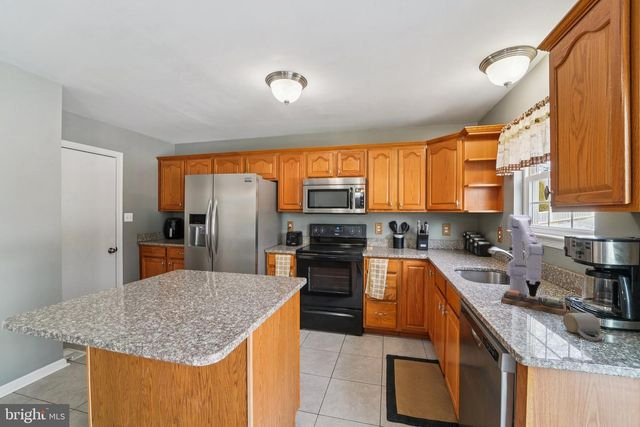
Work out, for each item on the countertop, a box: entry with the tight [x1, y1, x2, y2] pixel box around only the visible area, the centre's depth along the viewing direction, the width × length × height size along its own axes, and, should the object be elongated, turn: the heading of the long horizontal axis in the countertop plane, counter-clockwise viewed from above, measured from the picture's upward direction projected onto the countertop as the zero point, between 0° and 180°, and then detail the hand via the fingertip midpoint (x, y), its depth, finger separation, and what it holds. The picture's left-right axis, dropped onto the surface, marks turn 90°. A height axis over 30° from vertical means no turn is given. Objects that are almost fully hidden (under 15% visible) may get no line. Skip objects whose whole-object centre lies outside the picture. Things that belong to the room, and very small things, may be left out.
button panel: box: [500, 290, 567, 316], centre depth 131 cm, size 24×12×4 cm, turn 49°
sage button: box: [546, 295, 560, 304], centre depth 126 cm, size 4×4×2 cm
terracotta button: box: [507, 288, 520, 296], centre depth 136 cm, size 4×4×2 cm
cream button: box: [527, 294, 540, 300], centre depth 131 cm, size 4×4×2 cm
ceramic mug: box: [562, 312, 602, 342], centre depth 101 cm, size 11×8×8 cm
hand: (532, 296), depth 131 cm, fingers closed
